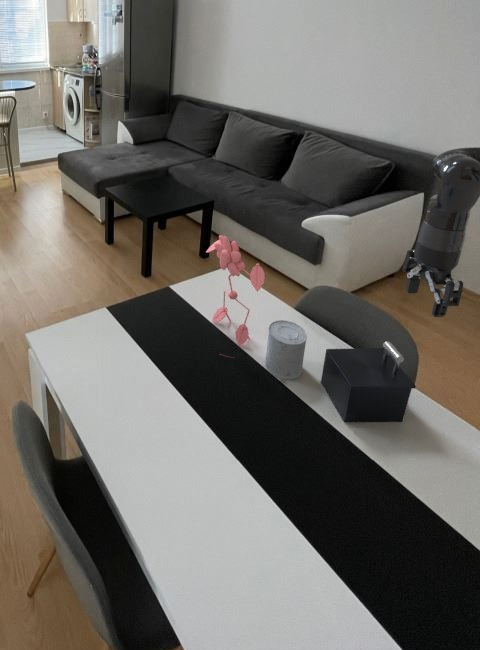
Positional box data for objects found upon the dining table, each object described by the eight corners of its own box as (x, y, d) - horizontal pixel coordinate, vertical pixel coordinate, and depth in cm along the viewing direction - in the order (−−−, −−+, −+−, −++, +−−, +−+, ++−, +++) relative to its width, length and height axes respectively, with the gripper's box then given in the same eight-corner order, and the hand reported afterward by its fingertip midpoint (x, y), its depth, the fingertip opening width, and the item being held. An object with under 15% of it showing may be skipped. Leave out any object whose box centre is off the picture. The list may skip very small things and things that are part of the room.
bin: (372, 381, 115) (380, 350, 111) (402, 422, 103) (411, 388, 99) (320, 382, 116) (325, 351, 112) (344, 422, 104) (350, 389, 100)
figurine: (217, 305, 148) (221, 215, 136) (270, 356, 125) (282, 253, 113) (178, 317, 144) (179, 225, 131) (227, 372, 121) (233, 267, 108)
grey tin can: (261, 370, 121) (264, 336, 116) (269, 349, 128) (272, 316, 123) (298, 384, 115) (303, 349, 111) (304, 361, 123) (309, 327, 118)
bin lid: (383, 350, 111) (387, 331, 108) (415, 388, 99) (420, 368, 97) (325, 351, 112) (329, 332, 109) (350, 389, 100) (355, 369, 98)
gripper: (486, 258, 85) (465, 324, 91) (434, 225, 98) (419, 284, 104) (446, 260, 86) (428, 325, 91) (400, 227, 99) (387, 285, 105)
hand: (423, 303), depth 98 cm, fingers open, 8 cm apart
